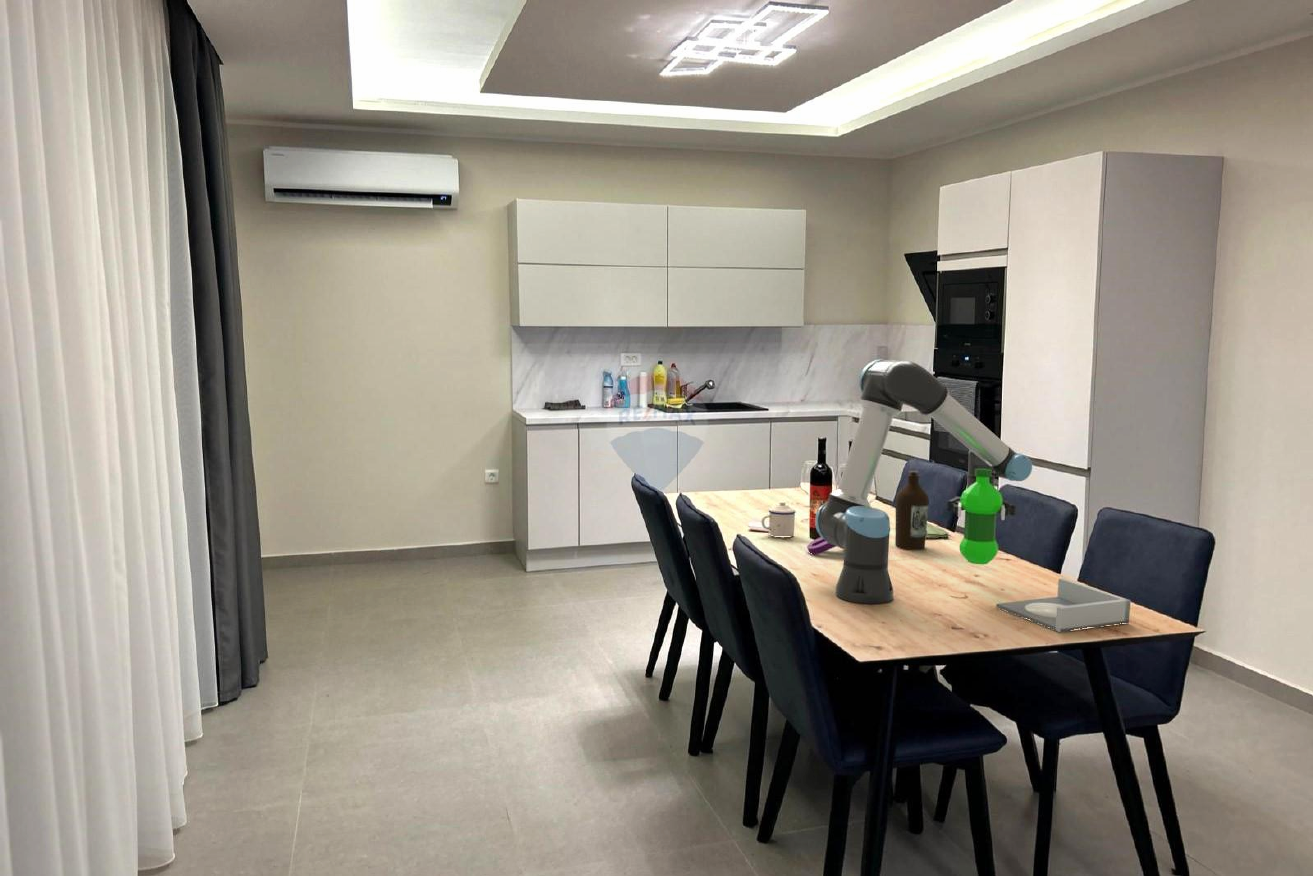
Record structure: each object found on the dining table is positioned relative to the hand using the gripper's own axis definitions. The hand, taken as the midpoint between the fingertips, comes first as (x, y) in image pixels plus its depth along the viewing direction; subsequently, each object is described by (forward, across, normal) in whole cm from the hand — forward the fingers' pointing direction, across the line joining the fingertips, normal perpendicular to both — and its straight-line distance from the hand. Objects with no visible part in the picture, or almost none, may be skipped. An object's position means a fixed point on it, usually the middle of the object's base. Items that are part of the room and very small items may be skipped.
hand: (981, 513), depth 254 cm
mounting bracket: (-43, +42, -24) cm, 65 cm away
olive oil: (-61, +20, -24) cm, 69 cm away
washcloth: (-83, +18, -25) cm, 89 cm away
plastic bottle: (-4, 0, -14) cm, 15 cm away
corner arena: (+4, -20, -24) cm, 32 cm away
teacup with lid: (-61, +64, -24) cm, 92 cm away
